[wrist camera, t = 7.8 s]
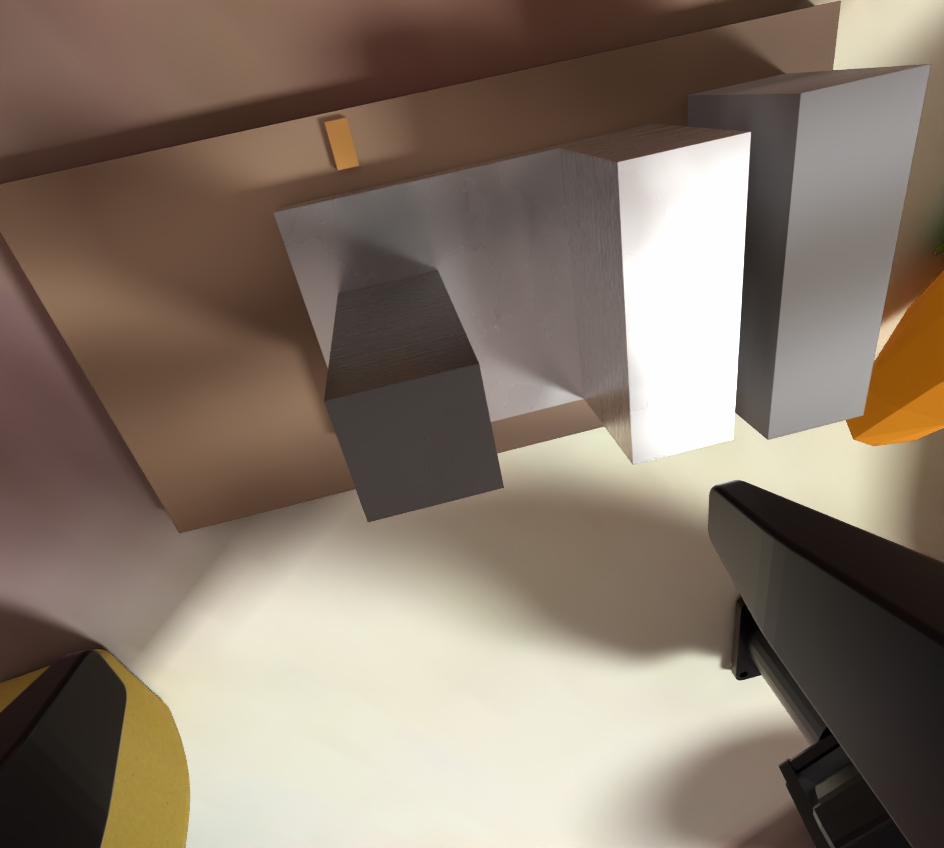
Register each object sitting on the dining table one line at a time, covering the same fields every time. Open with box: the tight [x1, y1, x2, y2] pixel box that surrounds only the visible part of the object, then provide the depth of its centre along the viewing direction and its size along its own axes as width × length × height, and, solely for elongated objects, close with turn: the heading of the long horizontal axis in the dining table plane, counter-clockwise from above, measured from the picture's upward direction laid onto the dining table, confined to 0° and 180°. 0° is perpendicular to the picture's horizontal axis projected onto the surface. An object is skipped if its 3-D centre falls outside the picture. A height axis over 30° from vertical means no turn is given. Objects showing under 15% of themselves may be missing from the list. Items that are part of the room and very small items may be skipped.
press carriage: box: [274, 124, 751, 522], centre depth 15 cm, size 8×11×8 cm
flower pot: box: [0, 649, 190, 848], centre depth 22 cm, size 9×9×9 cm
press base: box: [0, 1, 931, 533], centre depth 17 cm, size 12×24×6 cm, turn 101°
